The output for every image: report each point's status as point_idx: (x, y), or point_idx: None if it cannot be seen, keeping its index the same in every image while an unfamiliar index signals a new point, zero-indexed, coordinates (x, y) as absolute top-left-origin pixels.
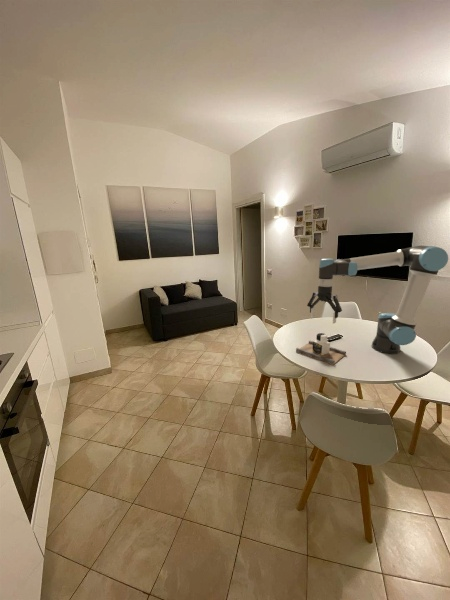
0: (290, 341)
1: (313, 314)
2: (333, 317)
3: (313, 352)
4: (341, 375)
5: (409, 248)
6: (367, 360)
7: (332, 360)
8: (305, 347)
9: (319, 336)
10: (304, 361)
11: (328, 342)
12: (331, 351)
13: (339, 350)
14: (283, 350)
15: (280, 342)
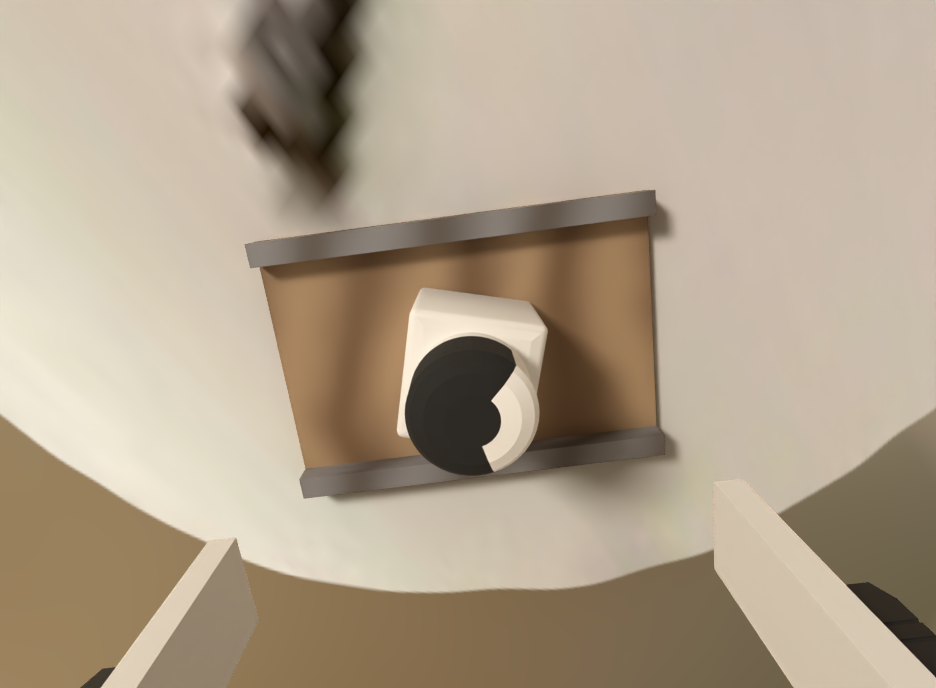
0: (114, 359)
1: (209, 632)
2: (803, 680)
3: None
4: None
5: None
6: (833, 137)
7: (649, 447)
8: (314, 374)
9: (477, 475)
10: (473, 558)
11: (536, 345)
12: (525, 254)
13: (595, 219)
14: None
15: (83, 451)
